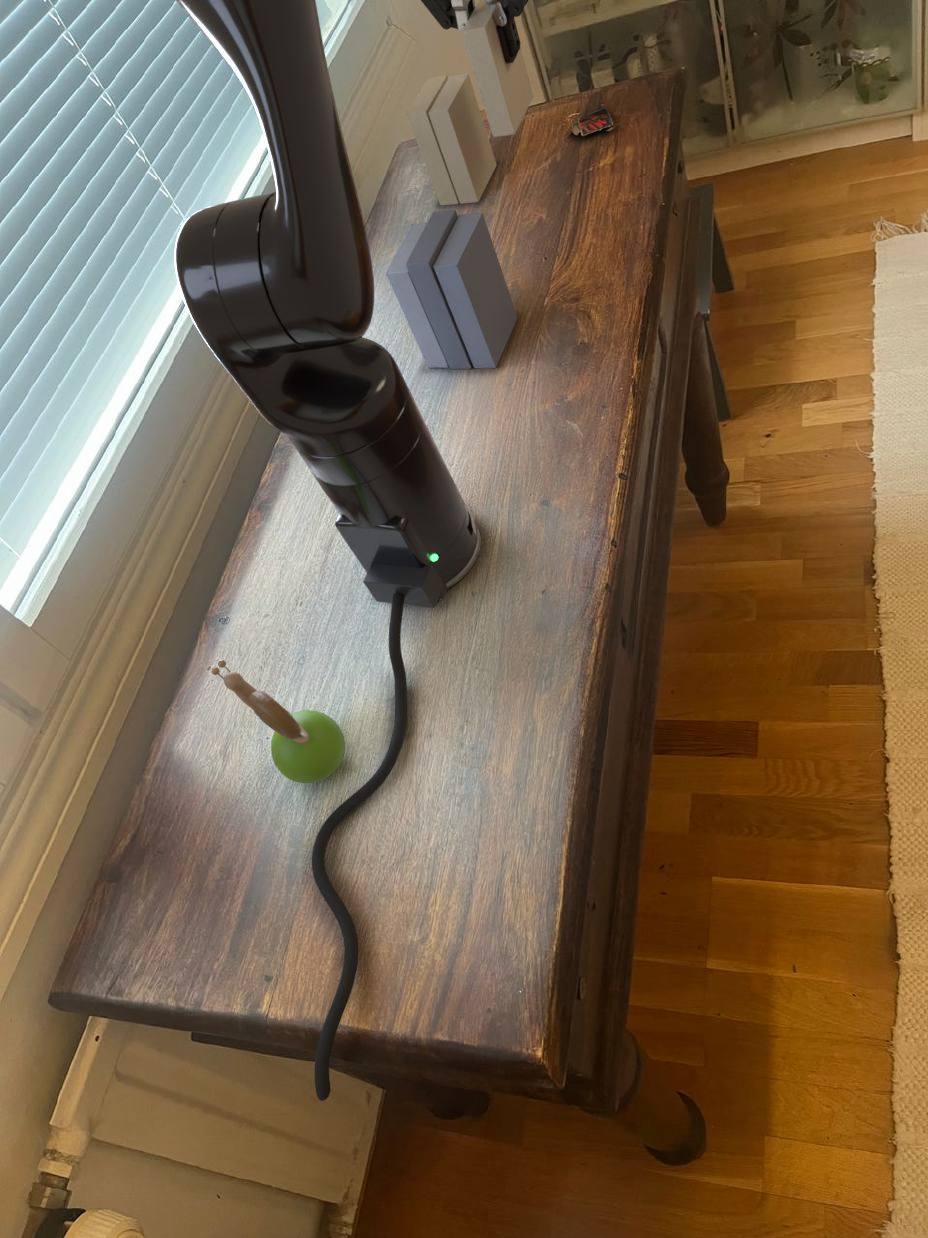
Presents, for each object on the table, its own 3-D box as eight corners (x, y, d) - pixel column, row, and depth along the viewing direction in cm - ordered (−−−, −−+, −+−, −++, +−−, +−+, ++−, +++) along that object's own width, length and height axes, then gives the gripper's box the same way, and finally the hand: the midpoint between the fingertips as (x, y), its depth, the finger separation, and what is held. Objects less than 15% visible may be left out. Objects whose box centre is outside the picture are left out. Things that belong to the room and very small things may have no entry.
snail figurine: (315, 713, 74) (240, 634, 65) (369, 750, 71) (298, 672, 61) (270, 767, 73) (187, 694, 63) (323, 808, 69) (243, 736, 60)
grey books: (495, 368, 90) (454, 260, 81) (427, 369, 94) (379, 265, 84) (518, 316, 94) (481, 206, 84) (451, 318, 97) (408, 213, 87)
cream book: (515, 134, 99) (484, 27, 90) (492, 137, 100) (460, 31, 91) (533, 96, 102) (506, -12, 93) (512, 99, 103) (482, -7, 94)
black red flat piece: (603, 108, 110) (602, 104, 109) (621, 125, 107) (620, 121, 106) (567, 127, 110) (566, 123, 110) (584, 144, 107) (583, 140, 106)
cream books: (478, 202, 108) (447, 108, 99) (440, 205, 110) (406, 114, 101) (496, 164, 111) (468, 70, 102) (459, 169, 113) (428, 77, 104)
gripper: (361, -97, 84) (426, 91, 98) (502, -134, 78) (551, 72, 92) (390, -136, 87) (450, 51, 101) (527, -175, 81) (571, 30, 95)
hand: (497, 60), depth 96 cm, fingers closed on cream book, 2 cm apart
